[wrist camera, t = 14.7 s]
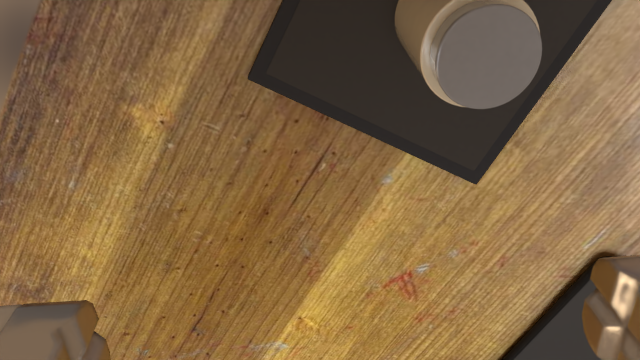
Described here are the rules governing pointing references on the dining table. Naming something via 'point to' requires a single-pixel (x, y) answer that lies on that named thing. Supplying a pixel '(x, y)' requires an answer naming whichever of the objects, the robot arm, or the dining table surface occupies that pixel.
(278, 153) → the dining table surface
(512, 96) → the salt shaker
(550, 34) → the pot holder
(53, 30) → the dining table surface
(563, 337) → the smartphone
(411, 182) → the dining table surface
